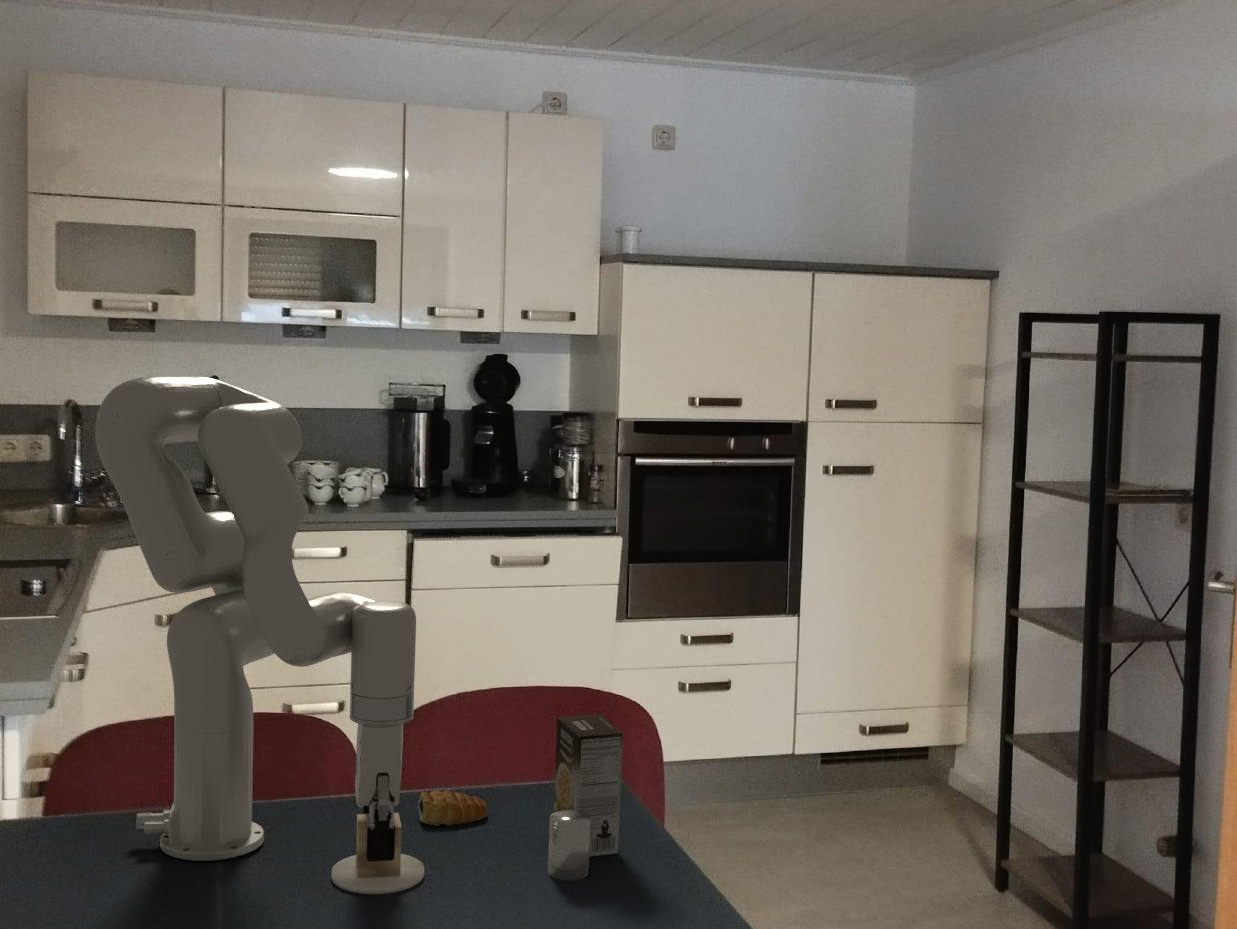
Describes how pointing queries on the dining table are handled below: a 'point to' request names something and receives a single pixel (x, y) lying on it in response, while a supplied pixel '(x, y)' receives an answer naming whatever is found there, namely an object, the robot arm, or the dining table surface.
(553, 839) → the tin
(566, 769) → the coffee box
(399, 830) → the block
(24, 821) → the dining table surface
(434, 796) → the pastry
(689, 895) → the dining table surface
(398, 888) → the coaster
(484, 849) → the dining table surface
